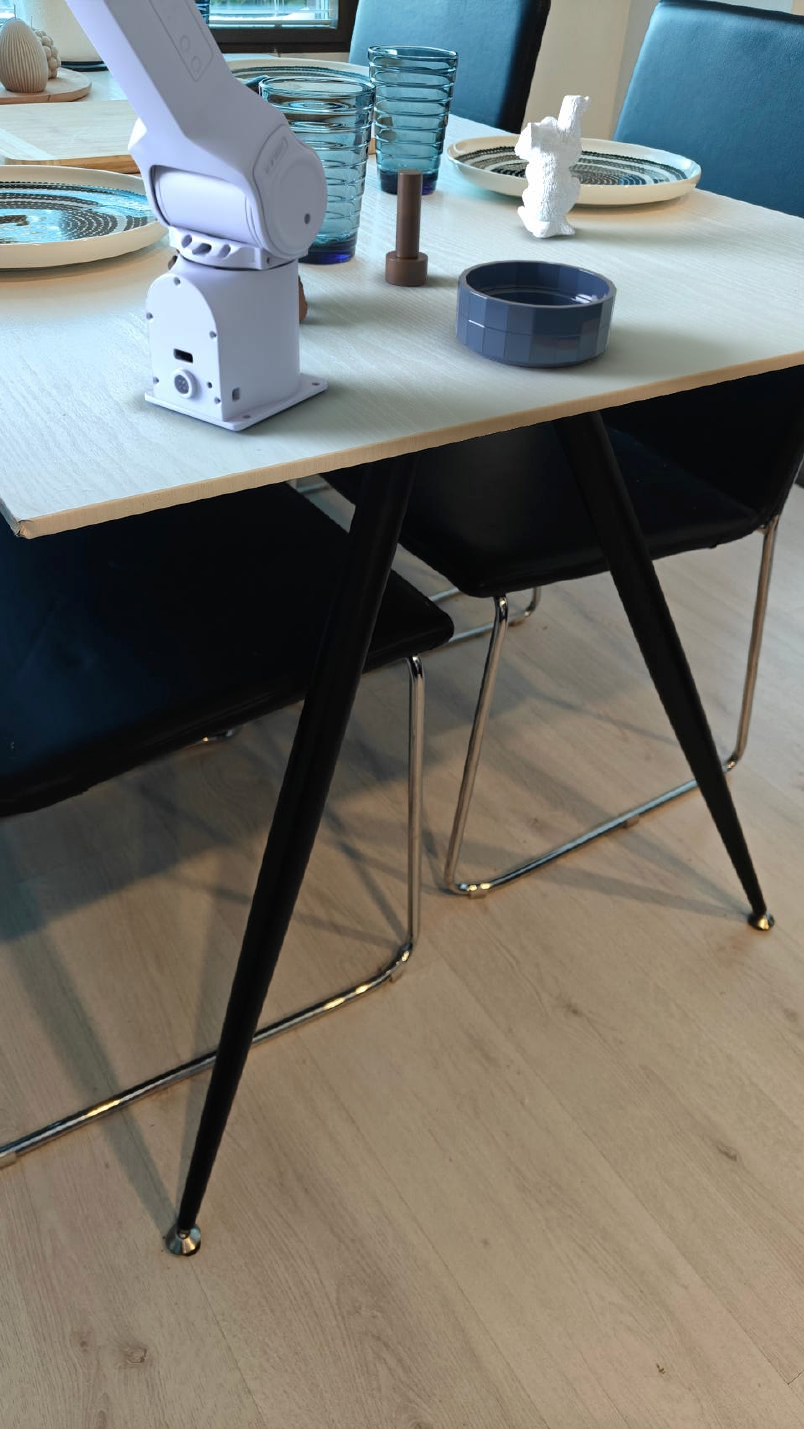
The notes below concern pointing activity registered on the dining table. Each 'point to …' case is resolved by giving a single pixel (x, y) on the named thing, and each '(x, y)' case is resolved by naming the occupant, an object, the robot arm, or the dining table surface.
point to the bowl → (534, 312)
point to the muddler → (407, 234)
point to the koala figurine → (552, 168)
